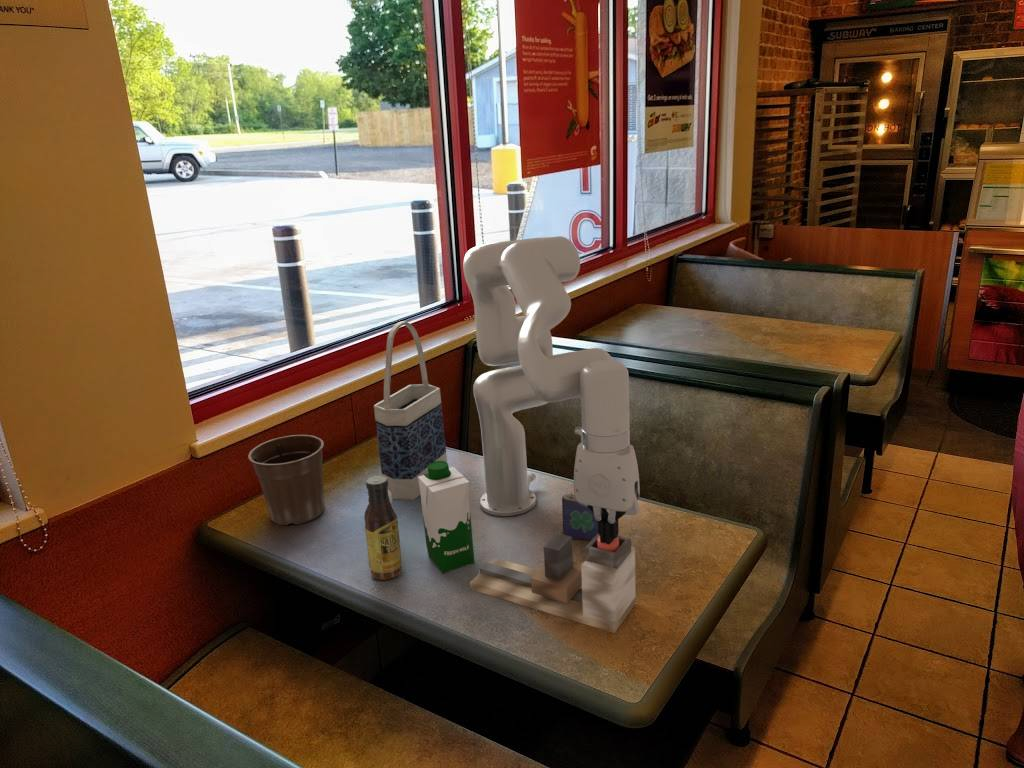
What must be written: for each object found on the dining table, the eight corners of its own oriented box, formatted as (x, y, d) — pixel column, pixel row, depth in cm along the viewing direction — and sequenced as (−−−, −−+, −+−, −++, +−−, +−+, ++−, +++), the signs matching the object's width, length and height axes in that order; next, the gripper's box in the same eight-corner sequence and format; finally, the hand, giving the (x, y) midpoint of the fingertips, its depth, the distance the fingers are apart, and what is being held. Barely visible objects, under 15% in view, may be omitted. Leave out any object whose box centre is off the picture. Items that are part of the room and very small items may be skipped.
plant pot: (245, 520, 173) (232, 455, 168) (300, 490, 185) (289, 429, 180) (294, 537, 164) (281, 469, 159) (348, 505, 177) (338, 441, 171)
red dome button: (594, 556, 128) (593, 541, 127) (603, 545, 131) (602, 531, 130) (613, 561, 126) (613, 546, 125) (622, 550, 129) (622, 536, 128)
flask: (608, 537, 156) (606, 490, 153) (604, 544, 154) (602, 497, 150) (565, 531, 160) (562, 485, 156) (560, 538, 157) (558, 491, 154)
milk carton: (462, 543, 157) (454, 455, 151) (481, 564, 150) (473, 472, 143) (422, 556, 154) (412, 466, 147) (439, 578, 146) (429, 484, 139)
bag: (422, 464, 195) (405, 312, 182) (451, 469, 191) (436, 314, 178) (380, 496, 180) (358, 332, 167) (411, 502, 176) (391, 335, 163)
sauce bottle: (388, 585, 145) (375, 491, 138) (363, 576, 148) (350, 484, 142) (410, 567, 150) (399, 476, 144) (386, 560, 153) (374, 470, 147)
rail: (470, 589, 142) (464, 522, 137) (496, 564, 149) (491, 500, 145) (614, 633, 127) (613, 560, 123) (635, 604, 135) (634, 534, 130)
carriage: (531, 592, 135) (529, 548, 132) (553, 569, 141) (551, 526, 138) (567, 603, 131) (565, 557, 128) (587, 579, 138) (586, 535, 135)
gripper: (553, 439, 122) (558, 540, 128) (641, 455, 115) (642, 561, 121) (574, 423, 128) (578, 520, 134) (659, 436, 121) (659, 538, 127)
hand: (608, 539), depth 127 cm, fingers closed
